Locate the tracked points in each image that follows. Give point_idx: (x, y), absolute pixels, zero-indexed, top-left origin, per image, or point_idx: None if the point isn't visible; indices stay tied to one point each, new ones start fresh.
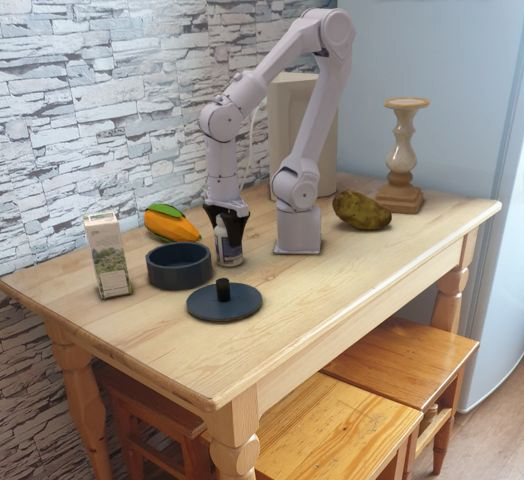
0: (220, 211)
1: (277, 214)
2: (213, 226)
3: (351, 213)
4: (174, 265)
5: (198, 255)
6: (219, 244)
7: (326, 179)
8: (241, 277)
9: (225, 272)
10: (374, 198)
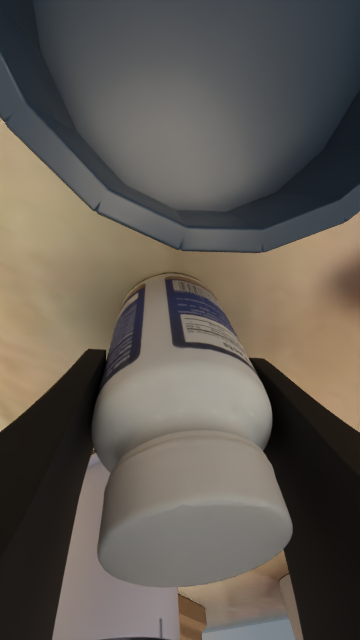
0: (323, 554)
1: (132, 602)
2: (297, 400)
3: None
4: (334, 80)
5: (253, 211)
6: (159, 320)
7: (296, 625)
8: (11, 273)
9: (97, 252)
10: (183, 617)
